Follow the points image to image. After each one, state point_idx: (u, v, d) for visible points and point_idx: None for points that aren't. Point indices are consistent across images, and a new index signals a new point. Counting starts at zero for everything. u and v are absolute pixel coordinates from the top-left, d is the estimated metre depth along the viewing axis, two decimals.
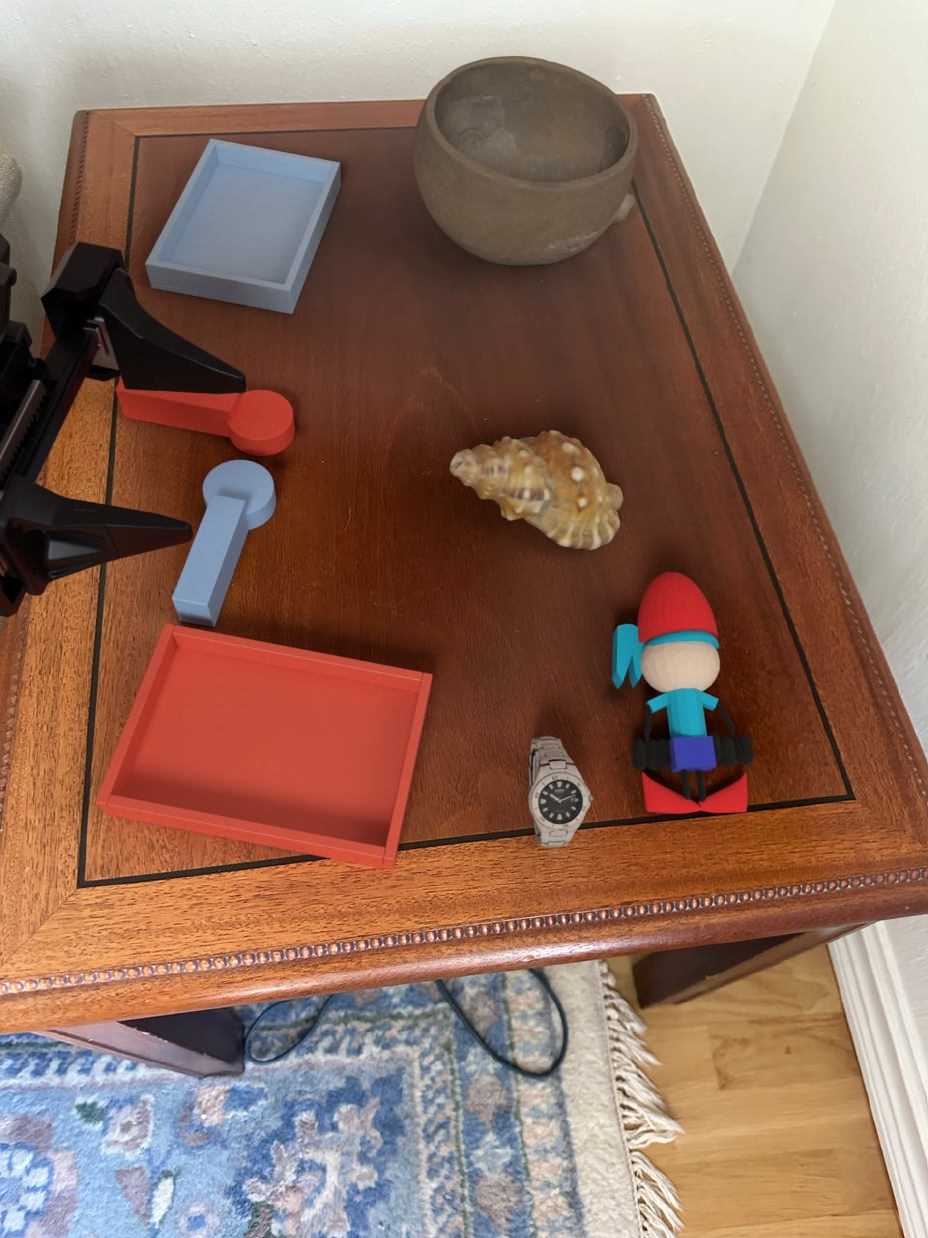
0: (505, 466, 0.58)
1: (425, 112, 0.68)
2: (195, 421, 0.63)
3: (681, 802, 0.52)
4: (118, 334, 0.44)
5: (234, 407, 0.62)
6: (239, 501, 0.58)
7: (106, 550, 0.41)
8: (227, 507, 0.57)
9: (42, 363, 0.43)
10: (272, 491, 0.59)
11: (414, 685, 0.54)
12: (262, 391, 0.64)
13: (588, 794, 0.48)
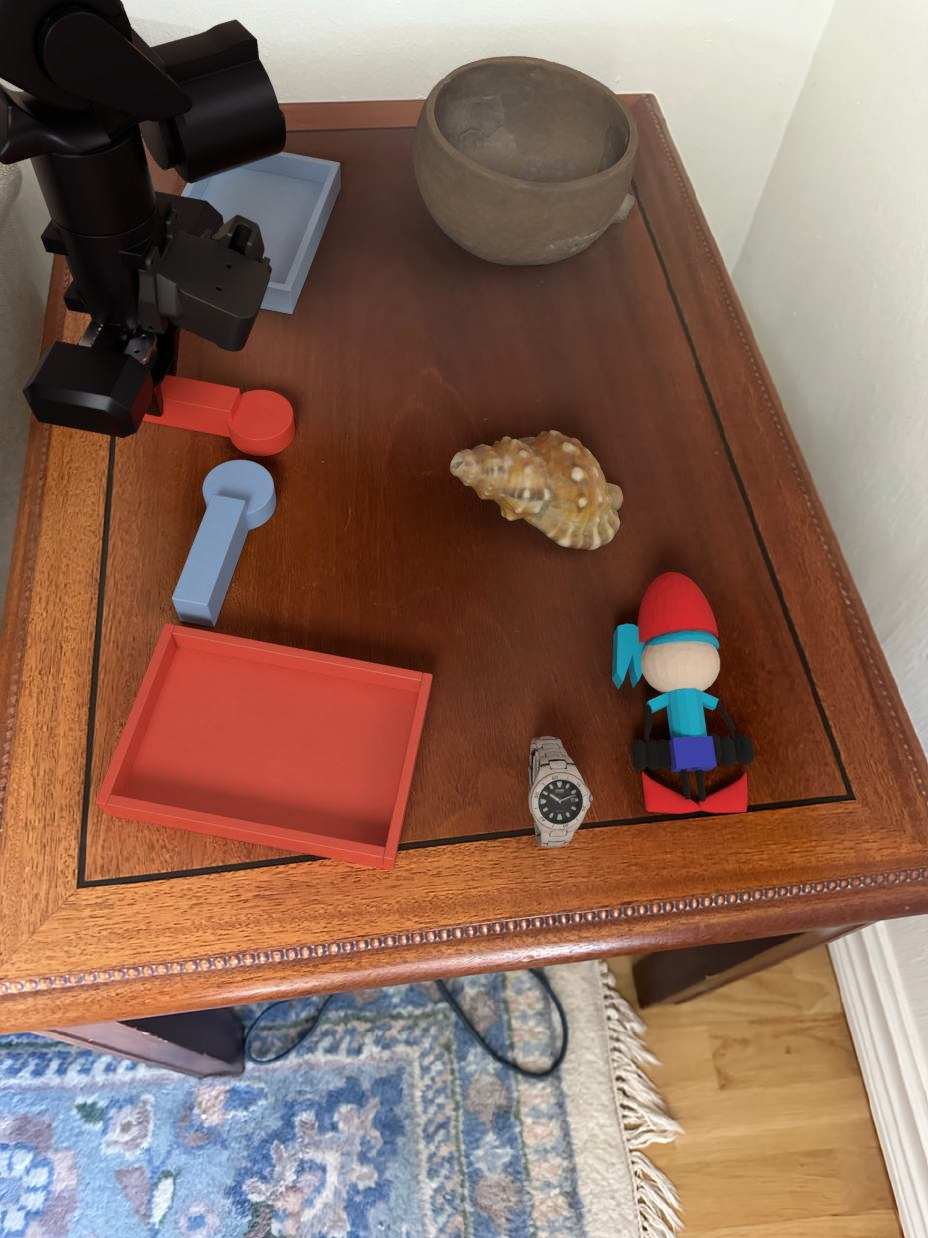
0: (505, 466, 0.58)
1: (425, 112, 0.68)
2: (195, 421, 0.63)
3: (681, 802, 0.52)
4: (167, 316, 0.58)
5: (234, 407, 0.62)
6: (239, 501, 0.58)
7: None
8: (227, 507, 0.57)
9: None
10: (272, 491, 0.59)
11: (414, 685, 0.54)
12: (262, 391, 0.64)
13: (588, 794, 0.48)
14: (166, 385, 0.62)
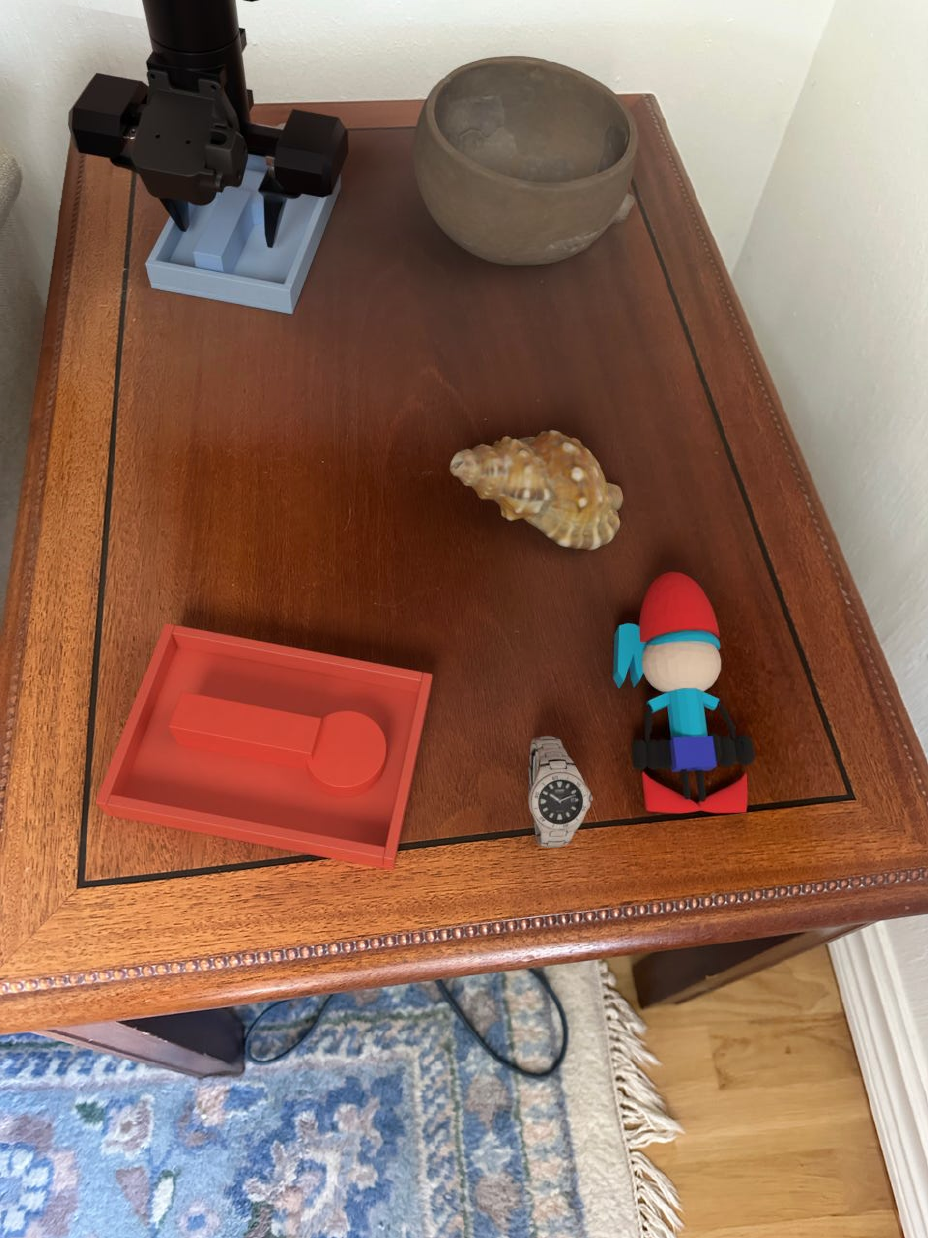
0: (506, 466, 0.58)
1: (425, 112, 0.68)
2: (266, 756, 0.51)
3: (681, 802, 0.52)
4: None
5: (315, 743, 0.50)
6: (246, 192, 0.72)
7: None
8: (236, 195, 0.71)
9: None
10: None
11: (414, 685, 0.54)
12: (347, 713, 0.52)
13: (588, 794, 0.48)
14: (230, 717, 0.50)
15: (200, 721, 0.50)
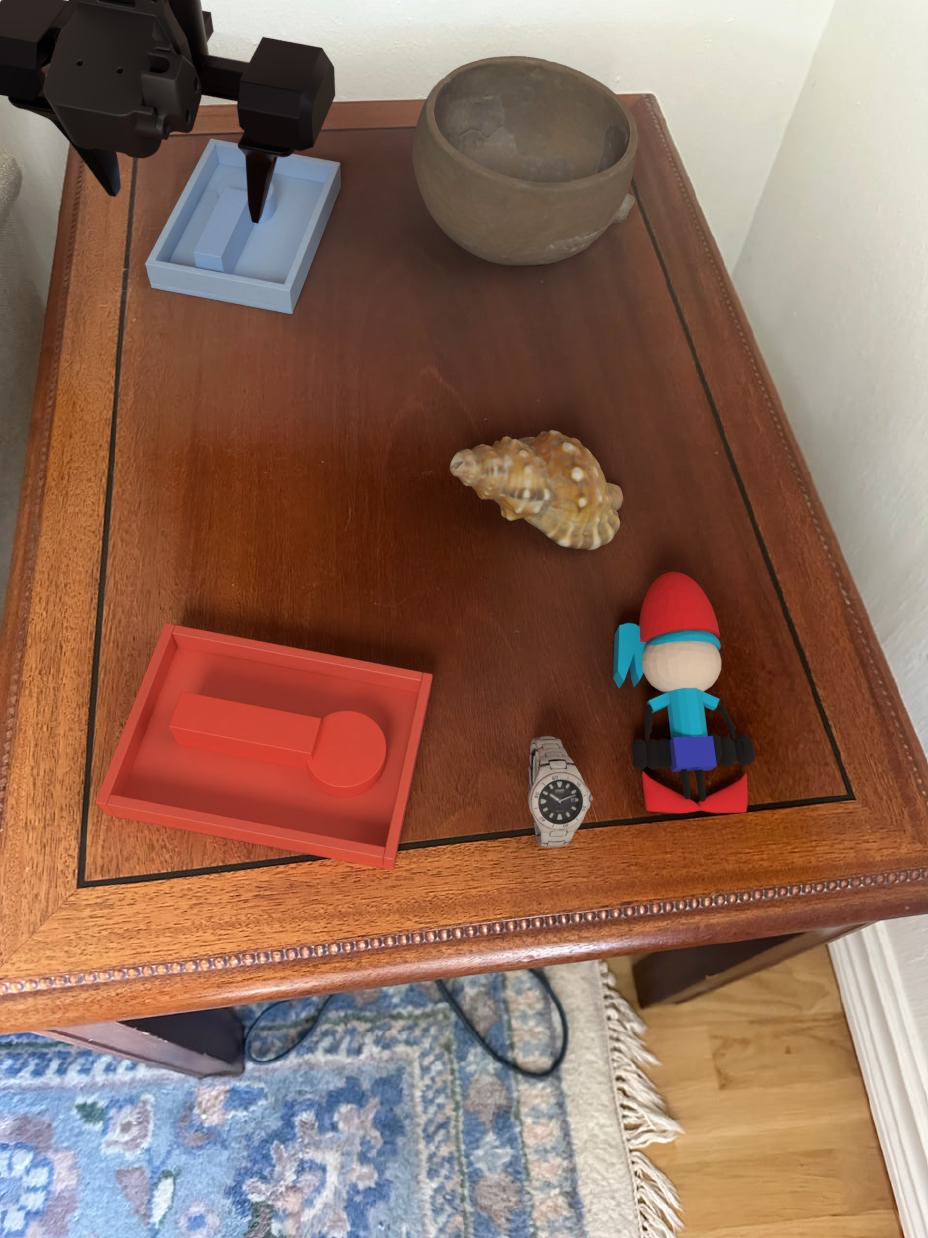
0: (505, 466, 0.58)
1: (425, 112, 0.68)
2: (266, 756, 0.51)
3: (681, 802, 0.52)
4: None
5: (315, 743, 0.50)
6: (246, 192, 0.72)
7: None
8: (236, 195, 0.71)
9: None
10: (272, 192, 0.73)
11: (414, 685, 0.54)
12: (347, 713, 0.52)
13: (588, 794, 0.48)
14: (230, 717, 0.50)
15: (200, 721, 0.50)
